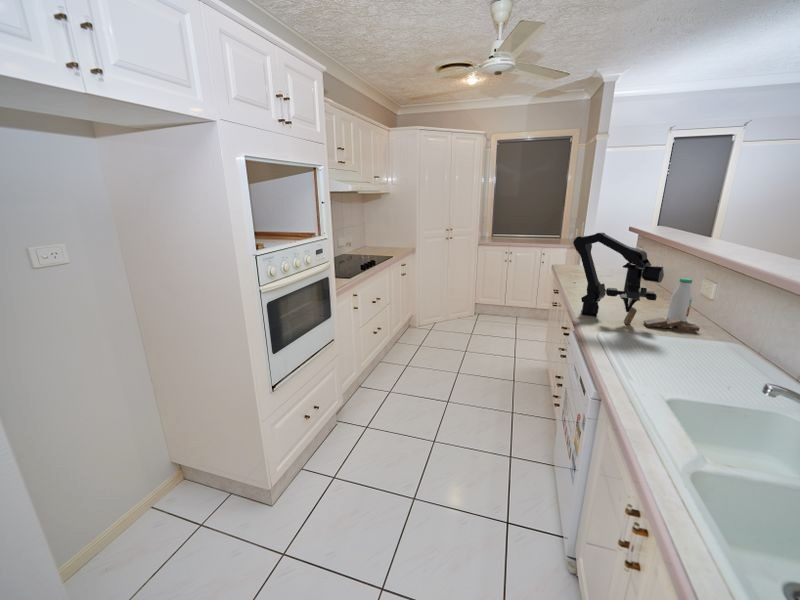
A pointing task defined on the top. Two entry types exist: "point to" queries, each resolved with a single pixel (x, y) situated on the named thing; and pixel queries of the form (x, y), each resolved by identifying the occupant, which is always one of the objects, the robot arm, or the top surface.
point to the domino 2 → (655, 322)
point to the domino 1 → (630, 315)
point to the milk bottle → (681, 300)
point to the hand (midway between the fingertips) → (627, 311)
